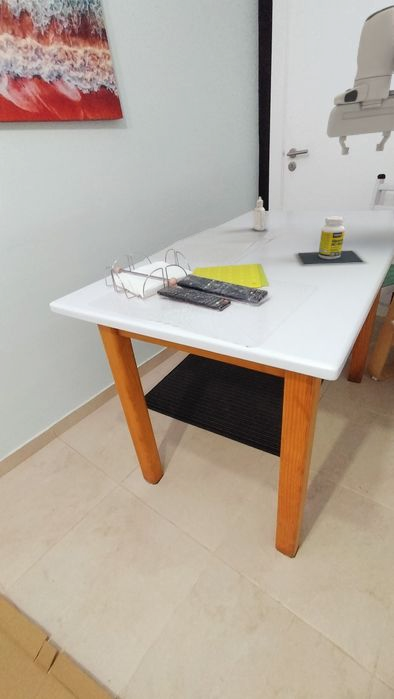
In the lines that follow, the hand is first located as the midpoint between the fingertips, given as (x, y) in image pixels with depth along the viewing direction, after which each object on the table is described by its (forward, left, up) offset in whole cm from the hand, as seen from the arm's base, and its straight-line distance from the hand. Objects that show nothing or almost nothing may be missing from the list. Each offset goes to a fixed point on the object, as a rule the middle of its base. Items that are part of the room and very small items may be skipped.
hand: (362, 152), depth 96 cm
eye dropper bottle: (+27, -25, -26) cm, 45 cm away
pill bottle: (+9, +13, -26) cm, 30 cm away
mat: (+9, +14, -26) cm, 30 cm away
